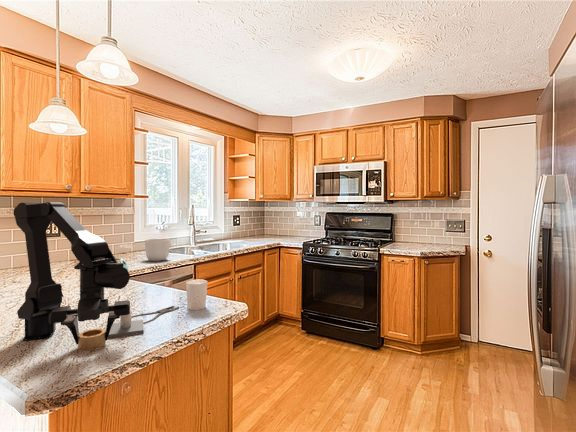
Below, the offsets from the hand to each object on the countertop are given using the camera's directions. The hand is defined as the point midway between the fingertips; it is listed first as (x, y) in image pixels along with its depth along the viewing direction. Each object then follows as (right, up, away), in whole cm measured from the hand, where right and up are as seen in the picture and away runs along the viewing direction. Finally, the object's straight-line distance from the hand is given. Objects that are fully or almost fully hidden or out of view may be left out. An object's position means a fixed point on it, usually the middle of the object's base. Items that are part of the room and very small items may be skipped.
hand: (92, 341), depth 89 cm
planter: (-41, +2, +145) cm, 150 cm away
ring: (0, -1, 0) cm, 1 cm away
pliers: (+5, -1, +27) cm, 27 cm away
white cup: (+19, -1, +35) cm, 40 cm away
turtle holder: (-35, +1, +77) cm, 85 cm away
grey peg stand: (+3, -1, +12) cm, 12 cm away
